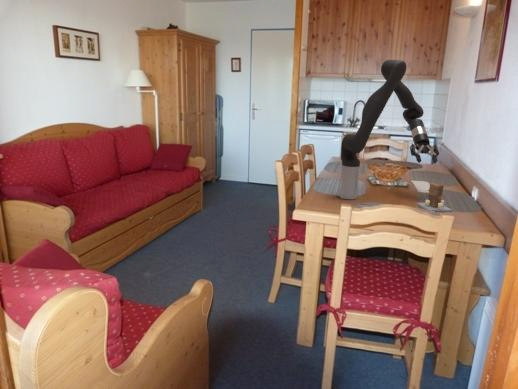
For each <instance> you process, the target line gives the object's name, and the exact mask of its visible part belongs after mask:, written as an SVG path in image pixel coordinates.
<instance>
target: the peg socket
mask: <svg viewBox="0 0 518 389" xmlns="http://www.w3.org/2000/svg"><path fill="white" fill-rule="evenodd" d="M429 204H430V200H428V198H427V199H425V202H416V206H418V207H420V208H421V209H423V210H425V209H427V210H432V211H437V212H438V213H452V212H453V209H451V208H449V206H448V207H447V206H446V205H445V200H443V199H441V203H438V208H433V207H431V206H429ZM437 212H436V213H437Z"/></svg>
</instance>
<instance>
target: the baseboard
mask: <svg viewBox="0 0 518 389" xmlns="http://www.w3.org/2000/svg"><path fill="white" fill-rule="evenodd" d="M410 182H411V183H412V185H413V187H414V188H415V190H416V191H417V193H418V194H420V195H421V194H423V195H424V194H425V195H428V194H429V188H430V183H429V182H427V181H424V180H410Z"/></svg>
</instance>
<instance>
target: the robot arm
mask: <svg viewBox="0 0 518 389" xmlns="http://www.w3.org/2000/svg"><path fill="white" fill-rule="evenodd" d="M381 64H382V65H381V67H380V73H381V75H382V77H383V78H384V80H386V81H385V82H384V83H383V84H382V85H381V86H380V87H379V88H378V89H377V90H376V91H374V92H373V93H372V94H371V95H370V96H369V97H368V99H367V101H366V102H365V104H364V106H363V108H362V113H361V122H360V125H359V128H358V130H356V133H348V134H346V135H344V136H343V138H342V140H341V148H340V159H341V166H340V167H341V169H340V178H339V179H338V185H337V186H338V188H337V197H338V198H339V199H345V200H356V199H357V196H358V187H359V186H358V185H359V178H360V169H361V168H360V167H361V166H360V165H361V160H360V159H359V158H358V155H357V154H360V153H361V152H362V151H363V150H364V149H365V147H366V145H367V143H368V141H369V138H370V136H371V133H372V131H373V129H374V128H375V125H376V123H377V122H378V120H379V118H380V116H381V114H382V113H383V112H384V110H385V107H386V106H387V104H388V102H389V100H390V98H391V96H392V95H393V92H394V94H395V95H396V97H397V98H398V101H399V103H400V105H401V106H402V108H403V109H404V110H403V112H402V117H403V119H404V121H405V122H406V123H407V125H408V127H409V129H410V132H411V138H412V141H413V143H412V144H411V145H410V146H409V149H410V154H411V156H412V157H415V159H416V162H417V163H421V162H422V156H421V154H425V155H428V156H430V157H431V159H432V161H433V162H432V163H433V164H436V163H437V162H438V156H440V152H439V149H438V146H437V145H436V144H433V145H431V144H430V138H429V136H428V131H427V130H426V127H425V124H424V122H423V120H422V119H421V118H422V117H423V116H424V114H425V112H424V109H423V107H422V106H421V105H420V104H419V103H418V102H417V101H416V100H415V97H414V96H413V94H412V92H411V90H410V88H409V87H407V85H405V84H404V82H402V79H403V78H404V76H405V74H406V72H407V63H406V62H405V61H404V60H400V59H387V60H384V61H383V63H381Z"/></svg>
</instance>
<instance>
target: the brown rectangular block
mask: <svg viewBox="0 0 518 389" xmlns="http://www.w3.org/2000/svg"><path fill="white" fill-rule="evenodd" d="M429 184H430V188H429V194H427V199H428V200H430V204H429V206H431V207H433V208H438V203H441V200H442V199H443V191H444V185H443V184H440V183H438V182H430V183H429Z"/></svg>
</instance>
